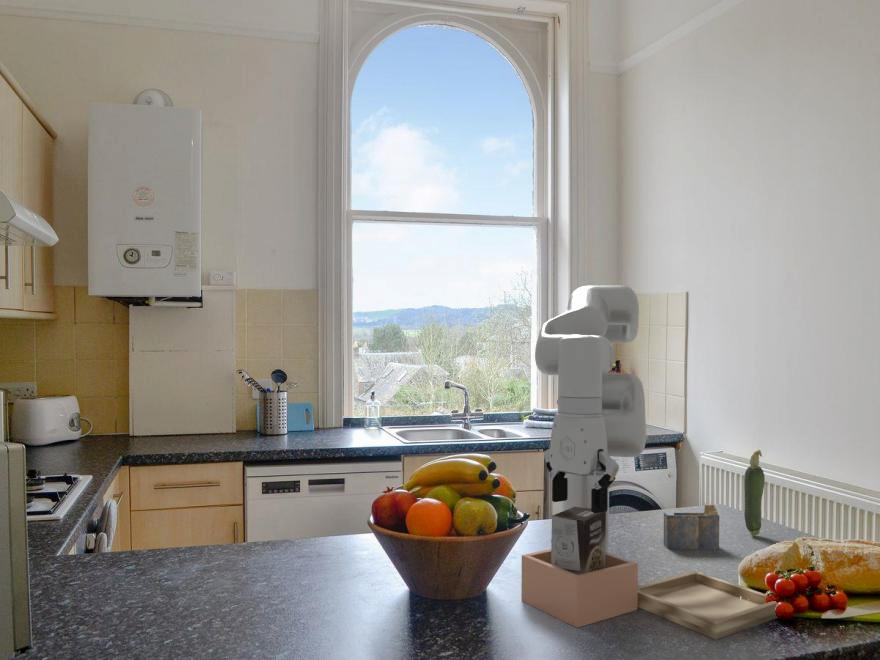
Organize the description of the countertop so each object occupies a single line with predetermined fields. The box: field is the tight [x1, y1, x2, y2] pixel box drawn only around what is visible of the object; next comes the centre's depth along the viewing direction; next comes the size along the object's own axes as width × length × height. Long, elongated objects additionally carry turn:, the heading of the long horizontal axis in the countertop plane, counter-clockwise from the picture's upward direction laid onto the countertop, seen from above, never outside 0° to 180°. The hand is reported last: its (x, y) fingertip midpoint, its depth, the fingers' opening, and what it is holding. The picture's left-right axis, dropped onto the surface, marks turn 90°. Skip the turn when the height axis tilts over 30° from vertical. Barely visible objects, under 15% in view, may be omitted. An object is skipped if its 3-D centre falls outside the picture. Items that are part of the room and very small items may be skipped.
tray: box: [637, 570, 779, 641], centre depth 128 cm, size 18×18×2 cm
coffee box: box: [550, 507, 606, 575], centre depth 129 cm, size 9×6×16 cm
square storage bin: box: [520, 548, 639, 628], centre depth 129 cm, size 14×14×8 cm
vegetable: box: [743, 449, 766, 537], centre depth 173 cm, size 4×4×20 cm
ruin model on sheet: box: [663, 502, 720, 550], centre depth 164 cm, size 25×16×10 cm, turn 89°
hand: (579, 506), depth 129 cm, fingers open, 9 cm apart
